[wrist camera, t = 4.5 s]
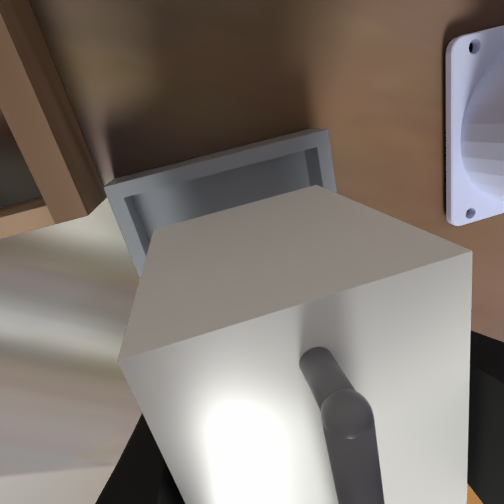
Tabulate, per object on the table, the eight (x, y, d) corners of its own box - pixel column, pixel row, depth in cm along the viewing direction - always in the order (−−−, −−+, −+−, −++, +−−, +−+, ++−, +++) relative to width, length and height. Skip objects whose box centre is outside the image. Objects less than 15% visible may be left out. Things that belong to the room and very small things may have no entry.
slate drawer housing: (309, 128, 14) (328, 129, 12) (339, 327, 18) (357, 350, 16) (114, 178, 13) (103, 187, 11) (189, 374, 17) (190, 405, 15)
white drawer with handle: (316, 184, 10) (569, 293, 4) (344, 364, 13) (520, 621, 6) (154, 229, 10) (92, 450, 3) (217, 406, 12) (257, 734, 6)
